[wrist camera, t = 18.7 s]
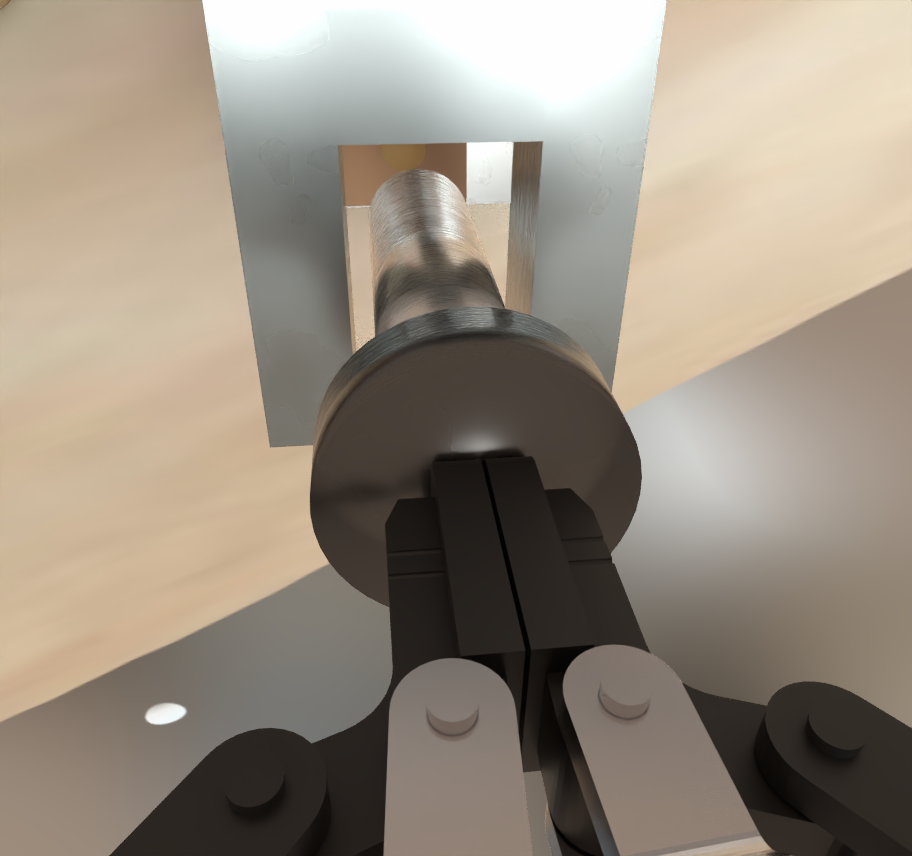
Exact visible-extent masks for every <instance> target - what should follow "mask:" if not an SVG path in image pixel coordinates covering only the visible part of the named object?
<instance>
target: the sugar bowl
mask: <svg viewBox="0 0 912 856" xmlns="http://www.w3.org/2000/svg"><path fill="white" fill-rule="evenodd" d="M9 1H10V0H0V9H1V8H2V7H4V6H5V5H6V4H7V3H8V2H9Z"/></svg>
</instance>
